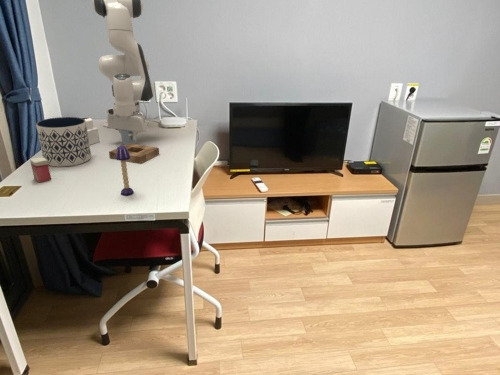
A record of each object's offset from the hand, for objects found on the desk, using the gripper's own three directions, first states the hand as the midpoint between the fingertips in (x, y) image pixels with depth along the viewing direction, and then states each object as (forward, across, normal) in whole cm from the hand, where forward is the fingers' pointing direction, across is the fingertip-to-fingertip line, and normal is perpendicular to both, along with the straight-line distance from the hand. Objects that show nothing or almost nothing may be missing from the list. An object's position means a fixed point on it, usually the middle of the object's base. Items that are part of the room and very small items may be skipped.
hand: (128, 139), depth 167 cm
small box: (+3, +2, +48) cm, 48 cm away
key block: (+3, 0, 0) cm, 3 cm away
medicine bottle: (+3, +20, +5) cm, 21 cm away
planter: (+3, +10, +28) cm, 30 cm away
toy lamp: (+3, -33, +45) cm, 56 cm away
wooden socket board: (+3, -12, +12) cm, 17 cm away
